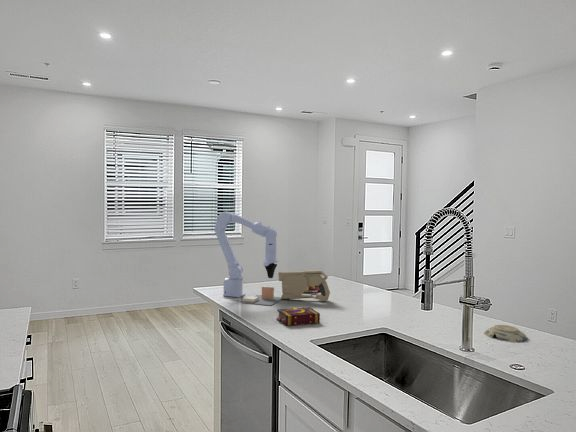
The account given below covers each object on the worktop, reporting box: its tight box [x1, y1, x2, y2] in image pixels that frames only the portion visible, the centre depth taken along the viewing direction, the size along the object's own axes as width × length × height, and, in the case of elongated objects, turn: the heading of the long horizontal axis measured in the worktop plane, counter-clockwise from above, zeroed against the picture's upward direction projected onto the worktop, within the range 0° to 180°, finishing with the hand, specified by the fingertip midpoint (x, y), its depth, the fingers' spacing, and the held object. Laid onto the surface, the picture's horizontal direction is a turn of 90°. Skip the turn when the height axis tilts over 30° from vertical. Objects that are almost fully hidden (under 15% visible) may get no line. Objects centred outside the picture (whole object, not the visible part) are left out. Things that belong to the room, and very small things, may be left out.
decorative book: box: [276, 306, 321, 327], centre depth 185 cm, size 11×16×5 cm
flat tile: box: [242, 295, 259, 303], centre depth 218 cm, size 6×6×2 cm
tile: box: [261, 285, 275, 300], centre depth 223 cm, size 6×2×6 cm, turn 70°
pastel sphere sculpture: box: [303, 285, 321, 293], centre depth 252 cm, size 25×24×9 cm
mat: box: [242, 294, 283, 307], centre depth 221 cm, size 15×18×1 cm
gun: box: [277, 269, 331, 303], centre depth 223 cm, size 25×3×16 cm, turn 84°
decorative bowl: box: [483, 324, 529, 343], centre depth 169 cm, size 15×4×15 cm
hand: (270, 277), depth 231 cm, fingers closed
